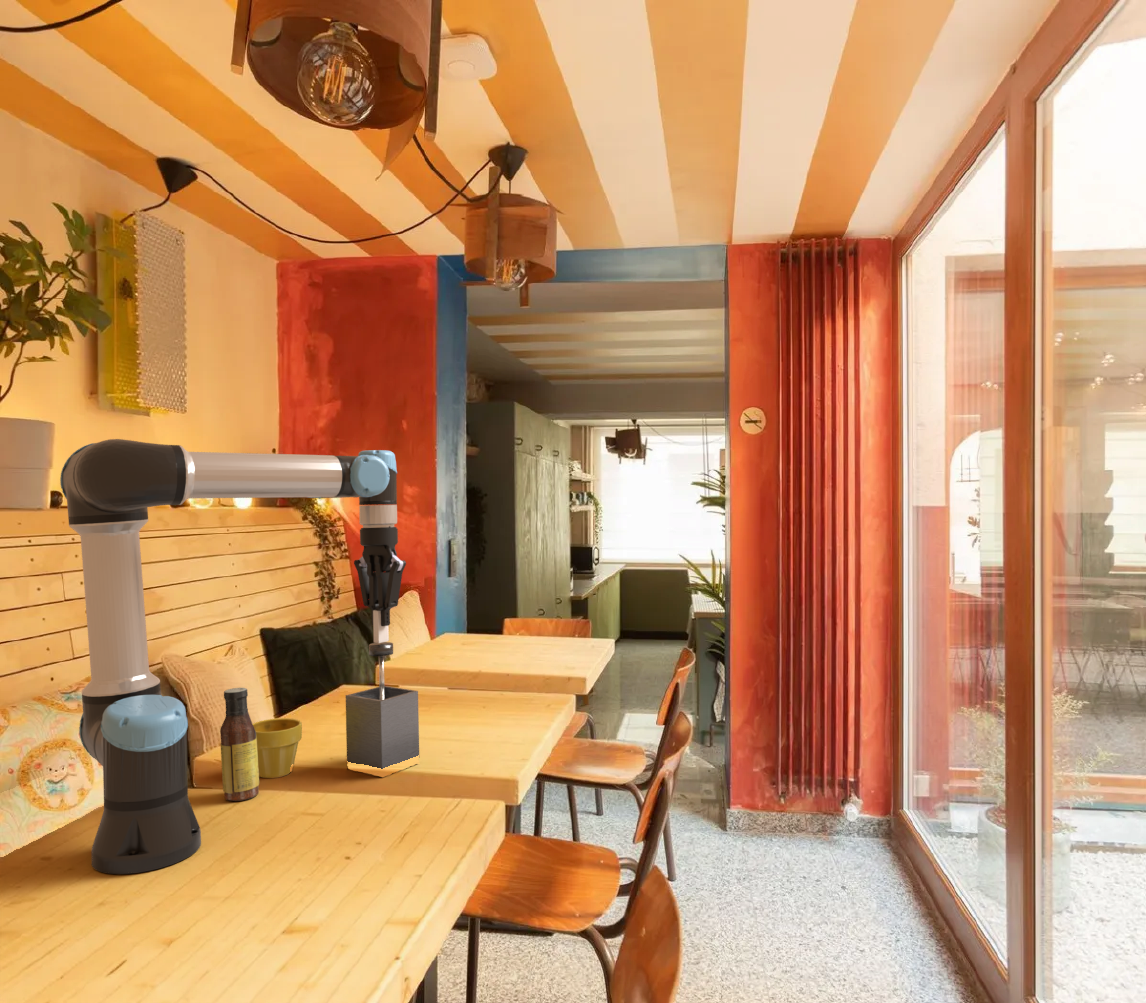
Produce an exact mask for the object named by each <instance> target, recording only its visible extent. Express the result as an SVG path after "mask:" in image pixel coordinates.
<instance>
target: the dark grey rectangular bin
mask: <svg viewBox="0 0 1146 1003" xmlns="http://www.w3.org/2000/svg"><path fill="white" fill-rule="evenodd" d="M384 688H385V699H384V700H380V690H379V686H376V687H371V688H370V689H369V688H368V689H365V690H361V691H357V692H354V693H349V694H346V695H345V728H346V729H345V731H346V732H345V734H346V736H345V737H346V762H347V761H348V762H351V763H356V764H364V765H369V766H372V767H377V768H381V769H383V768H385V767H388V766H390V765H393V764H397V763H400V762H402V761H405V760H408V759H410V758H413V757H416V756H418V755H419V756H420V731H419V730H420V728H419V727H420V726H419V722H420V721H419V715H420V714H419V690H414V689H409V688H402V687H395V686H390V685H384Z"/></svg>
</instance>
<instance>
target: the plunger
mask: <svg viewBox="0 0 1146 1003" xmlns="http://www.w3.org/2000/svg"><path fill="white" fill-rule="evenodd" d="M393 654H394V643H393V642H392V641H391V642H389V641H386V642H382V643H374V642H372V643H370V644H368V655H369V656H371V657H378V681H379V682H378V683H379V686H378V687H379V690H380V700H384V699H385V688H384V686H385V656H391V655H393Z"/></svg>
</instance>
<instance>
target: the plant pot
mask: <svg viewBox="0 0 1146 1003" xmlns="http://www.w3.org/2000/svg"><path fill="white" fill-rule="evenodd" d="M302 723H303V722H302V721H301V720H300V719H296V718H289V717H280V718H279V717H277V718H276V717H275V718H269V719H264V720H259V721H256V722H252V724H253V726H254V729H255V731H256V739H257V754H258V770H259V778H264V779H275V778H276V779H277V778H282V777H285V776H287V775H289V773H290V767H291V765H292V764H294V765H295V762H296V761H295V760H296V756H297V751H298V746H299V742H300V741H301V740H302V738H303V737H302V736H303V724H302ZM290 774H291V773H290Z"/></svg>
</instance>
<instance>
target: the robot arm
mask: <svg viewBox="0 0 1146 1003" xmlns="http://www.w3.org/2000/svg"><path fill="white" fill-rule="evenodd" d="M397 469H398V468H397V461H396V454H395V453H394V452H392V451H391V450H385V449H384V450H383V449H382V450H381V449H378V450H377V449H375V450H374V449H373V450H361V451H359V452H358V455H334V454H333V455H329V454H327V455H326V454H319V455H318V454H290V453H289V454H287V453H258V452H257V453H251V452H249V453H248V452H246V453H245V452H218V451H217V452H211V451H209V452H208V451H201V452H200V451H188V450H186V449H185V448H184V447H183V446H182V445H179V444H161V443H152V442H143V441H136V440H131V439H123V438H121V439H120V438H115V439H114V438H112V439H111V438H110V439H106V440H102V441H98V442H93V443H89V444H86V445H83V446H82V447H80V448H78V449H77V450H75V451H74V452H73V453H71V455H70V456H69V457H68V458H67V459H66V461H65V462H64V464H63V466H62V468H61V472H60V479H59V480H60V483H59V484H60V489H61V490H62V494H63V495H64V498H65V499H66V503H67V504H66V505H67V517H68V527H69V528H70V529H72V530H73V531H74V532H76V533H77V534H78V535H79V536H80V546H81V547H80V548H81V557H82V558H81V560H82V570H83V572H82V574H83V586H84V601H85V612H86V628H87V639H88V640H87V641H88V653H89V665H90V668H89V669H90V677H91V678H90V681H89V682H88V683H87V684H86V685H85V687H83V689H82V690H81V700H82V703H81V704H82V714H81V717H80V721H79V727H78V729H79V730H78V734H79V739H80V741H81V744H82V746H83V748H84V750H85V752H87V753H88V754H89V756H91V758H93V759H94V760H95V761H97V762H98V763H99V764H100V766H102V774H103V776H102V779H103V780H102V781H103V813H102V816H101V818H100V821H99V822H100V823H99V826H98V828H97V831H96V835H95V838H94V841H93V844H92V847H91V853H90V854H91V866H92V868H93V869H94V870H95V871H97V872H100V873H105V874H111V875H112V874H113V875H128V874H129V875H130V874H137V873H144V872H150V871H154V870H157V869H161V868H166V867H170V866H171V865H175V864H176V863H179V862H181V861H182V862H183V861H184V860H186V859H187V858H189V857H191V856H192V855H193V854H195V853H197V851H198V850H199V849H200V848H201V845H202V835H201V832H202V831H201V826H200V824H199V822H198V820H197V817H196V814H195V811H194V809H193V807H192V804H191V802H190V800H189V788H188V786H189V785H188V784H189V782H188V780H189V779H188V775H189V774H188V731H187V730H188V727H189V724H188V723H189V722H188V717H187V712H186V711H187V710H186V706H185V705H184V703H183V702H182V701H181V700H179V699H178V698H176V697H173V696H169V695H164V696H163V695H162V690H161V689H162V688H161V679H160V678H159V677H158V676H156V675H155V674H153V673H152V672H151V671H150V664H149V652H148V651H149V650H148V637H147V624H146V623H147V622H146V609H145V608H146V606H145V594H144V582H143V579H144V578H143V569H142V568H143V567H142V556H141V554H142V553H141V540H140V532H141V530H142V528H144V527H145V525H146V524H147V523H148V522H149V512H148V511H149V510H148V509H149V508H150V507H159V506H160V507H161V506H181V505H183V503H184V502H186V501H187V500H189V499H247V498H249V499H250V498H252V499H253V498H254V499H255V498H257V499H259V498H261V499H262V498H308V499H309V498H310V499H340V498H358V501H359V502H358V505H359V507H358V508H359V513H358V514H359V525H361V526H362V527H361V528H360V529H359V542H360V543H359V544H360V546H362V547H363V550H362V554H361V555H362V556H361V557H359V559H355V560H354V561H353V565H354V567H355V569H356V572H357V576H358V581H359V587H360V592H361V598H362V602H363V603H362V604H363V605H364V607H368V608H369V609H370V610H371V625H372V626H373V629H372V630H373V631H372V632H373V643H382V642H389V641H390V637H389V636H390V635H389V632H390V631H389V626H390V624H391V609H393V608H395V607H397V606H398V605H399V604H398V602H399V599H400V591H401V585H402V578H403V572H404V570H405V567H406V565H407V562H406V560H403V559H402V560H401V559H400V558H399V557H398V553H397V551H396V545H398V543H399V538H398V537H399V536H398V535H399V533H398V532H399V531H398V528H397V526H395V525H397V524H398V505H397V504H398V501H397V500H398V499H397V498H398V495H397V494H398V491H397V487H398V486H397V483H398V482H397V481H398V479H397V478H398V477H397V474H398V471H397Z"/></svg>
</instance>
